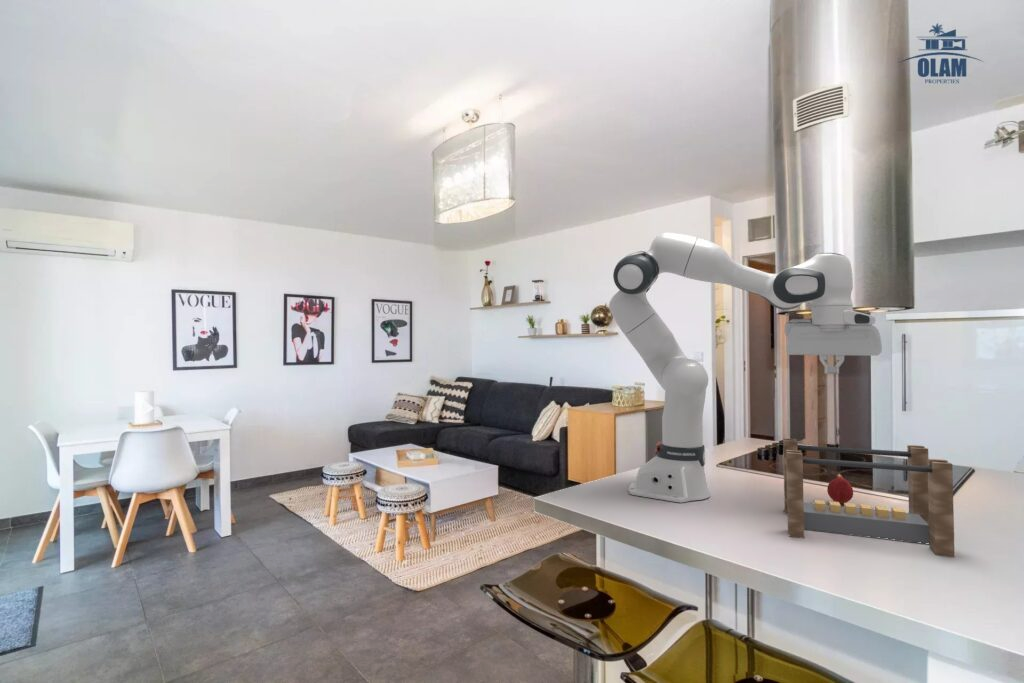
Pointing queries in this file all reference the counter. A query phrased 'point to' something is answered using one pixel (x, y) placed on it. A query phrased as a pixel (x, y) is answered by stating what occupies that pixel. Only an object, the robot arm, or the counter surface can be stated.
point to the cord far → (855, 450)
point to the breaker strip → (865, 521)
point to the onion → (840, 490)
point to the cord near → (868, 465)
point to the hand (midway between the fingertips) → (831, 373)
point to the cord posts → (924, 491)
